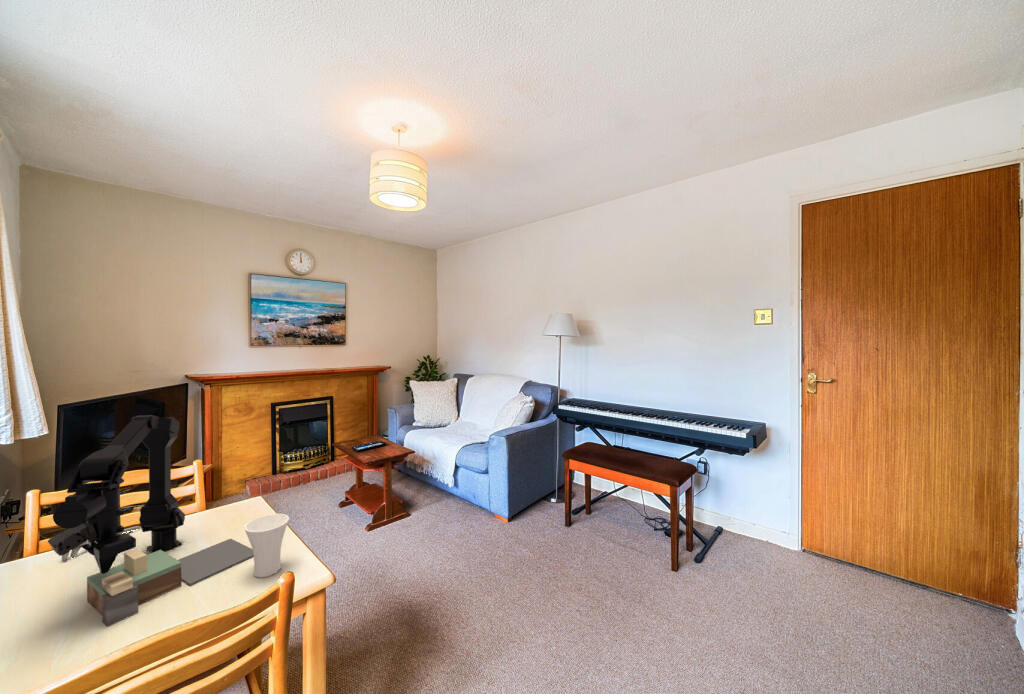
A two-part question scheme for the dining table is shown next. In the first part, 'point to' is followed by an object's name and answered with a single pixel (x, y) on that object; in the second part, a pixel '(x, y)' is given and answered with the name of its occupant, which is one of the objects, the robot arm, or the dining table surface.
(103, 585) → the wooden block
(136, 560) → the lid
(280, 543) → the cup
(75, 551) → the caliper
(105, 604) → the toolbox
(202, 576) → the mat
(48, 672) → the dining table surface
